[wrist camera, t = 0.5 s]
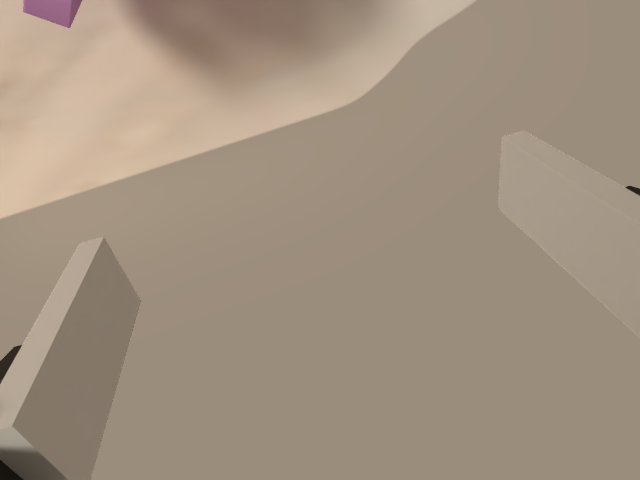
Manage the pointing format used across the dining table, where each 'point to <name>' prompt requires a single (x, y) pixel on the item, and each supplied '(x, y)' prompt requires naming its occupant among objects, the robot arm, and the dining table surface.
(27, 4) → the pink lidded pot
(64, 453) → the robot arm
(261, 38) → the dining table surface
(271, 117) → the dining table surface
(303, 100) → the dining table surface
